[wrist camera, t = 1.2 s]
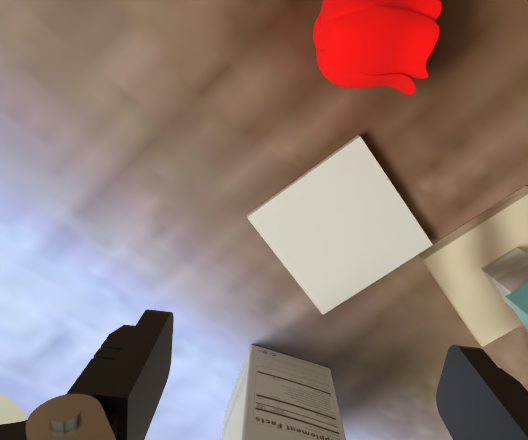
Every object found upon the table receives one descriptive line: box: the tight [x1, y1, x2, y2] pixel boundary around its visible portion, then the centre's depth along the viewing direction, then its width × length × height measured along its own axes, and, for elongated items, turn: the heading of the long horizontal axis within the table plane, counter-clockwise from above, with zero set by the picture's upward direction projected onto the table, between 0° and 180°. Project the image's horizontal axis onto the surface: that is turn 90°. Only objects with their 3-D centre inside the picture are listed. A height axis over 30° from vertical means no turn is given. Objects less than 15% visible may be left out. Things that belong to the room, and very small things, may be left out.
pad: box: [247, 136, 433, 314], centre depth 37 cm, size 12×12×1 cm
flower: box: [313, 0, 442, 95], centre depth 29 cm, size 8×8×8 cm
